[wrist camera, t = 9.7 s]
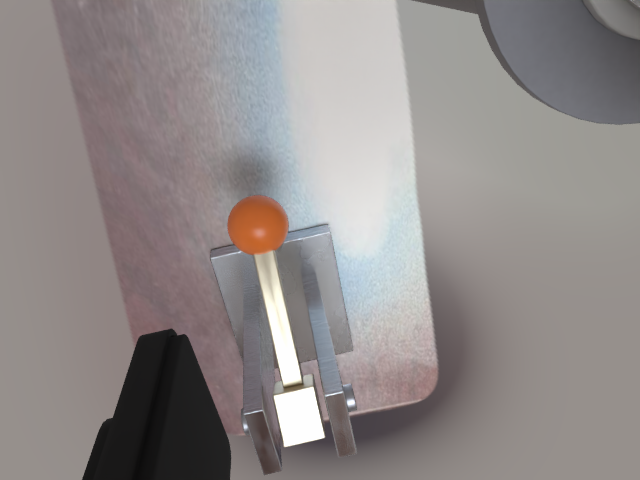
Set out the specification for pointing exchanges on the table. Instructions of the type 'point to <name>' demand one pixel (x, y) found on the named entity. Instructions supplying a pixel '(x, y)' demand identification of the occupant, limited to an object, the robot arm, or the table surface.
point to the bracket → (308, 328)
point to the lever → (278, 317)
